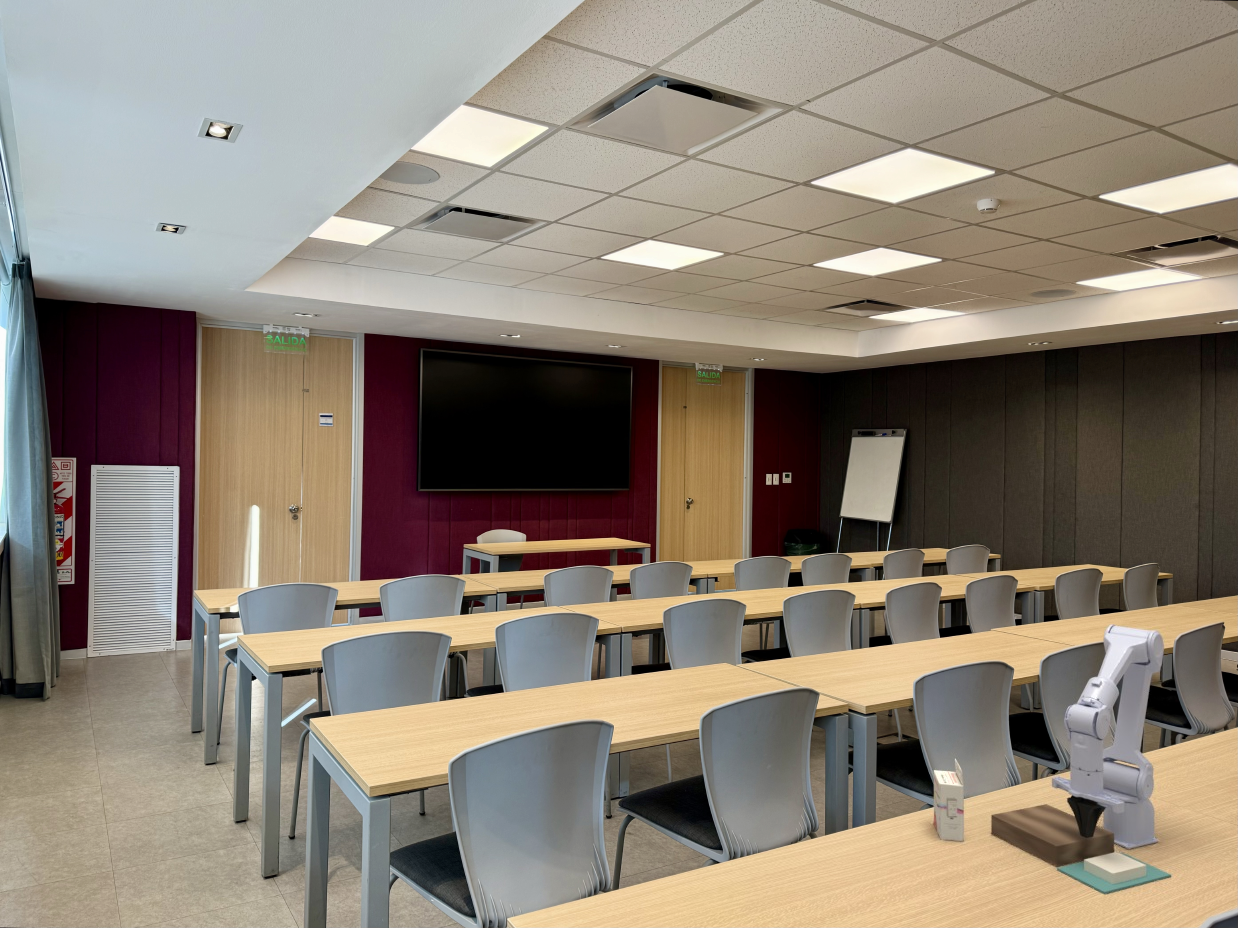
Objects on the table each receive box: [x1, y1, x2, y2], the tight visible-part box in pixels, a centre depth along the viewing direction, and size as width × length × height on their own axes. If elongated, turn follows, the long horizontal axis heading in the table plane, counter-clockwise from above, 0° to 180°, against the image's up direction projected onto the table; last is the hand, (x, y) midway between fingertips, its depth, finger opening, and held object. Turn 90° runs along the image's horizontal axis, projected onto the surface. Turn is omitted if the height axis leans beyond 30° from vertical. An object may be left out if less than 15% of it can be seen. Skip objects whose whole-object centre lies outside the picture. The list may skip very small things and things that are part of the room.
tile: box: [1083, 851, 1146, 884], centre depth 158 cm, size 9×6×2 cm, turn 112°
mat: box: [1056, 852, 1172, 895], centre depth 159 cm, size 18×10×1 cm, turn 112°
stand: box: [990, 804, 1115, 868], centre depth 172 cm, size 16×16×4 cm
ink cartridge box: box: [933, 758, 965, 842], centre depth 177 cm, size 9×5×15 cm, turn 168°
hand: (1086, 835), depth 164 cm, fingers closed
